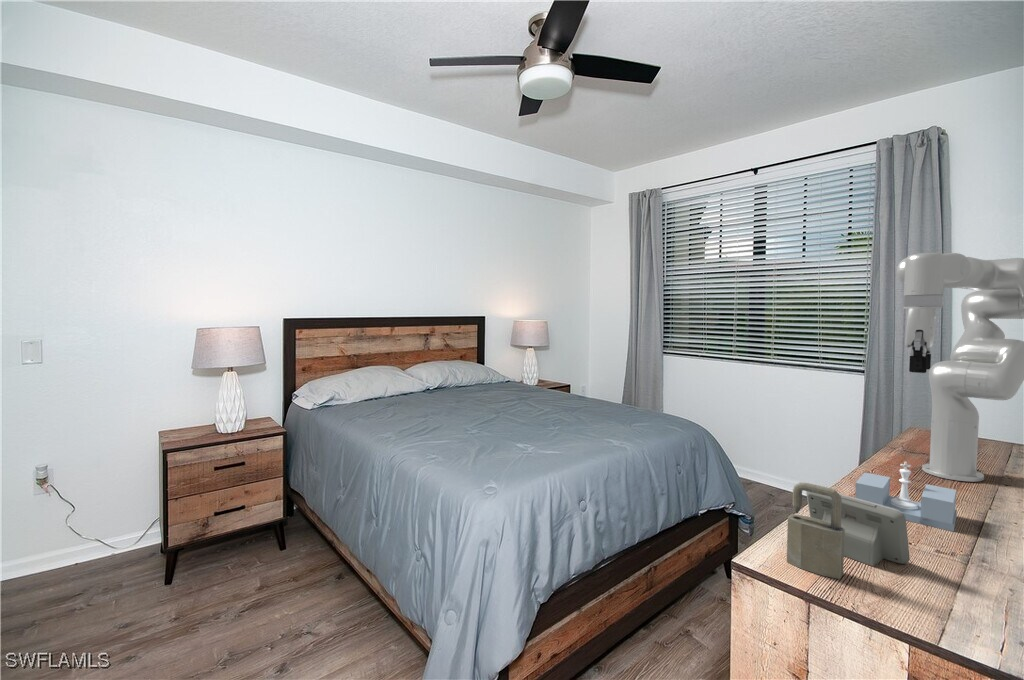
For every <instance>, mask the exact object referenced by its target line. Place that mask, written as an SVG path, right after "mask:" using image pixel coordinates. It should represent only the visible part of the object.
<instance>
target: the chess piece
mask: <svg viewBox="0 0 1024 680" xmlns="http://www.w3.org/2000/svg"><path fill="white" fill-rule="evenodd" d="M903 463H904V464H903ZM903 463H900V467H902V468H900V469H899V473H900V475H901V478H900V479H899V480H898V482H900V483H901V487H900V492H899V495H898V496H897V498H893V499H891V502H890V503H891V504H892V505H893V506H896V507H899V508H903V509H908V510H916V509H918V504H917V503H915V502H913V501H914V500H912V499H911V498H910V494H909V487H908V486H909V484H911V483H912V481H911V480H910V479H909V478H910V475H912V474H911V473H912V471H911V470H910V469H908V468H911V467H912V465H911V464H908V462H907V461H904V462H903Z"/></svg>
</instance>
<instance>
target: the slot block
mask: <svg viewBox="0 0 1024 680" xmlns="http://www.w3.org/2000/svg"><path fill="white" fill-rule="evenodd" d="M890 486H891V477H889V476H885V475H880V474H876V473H869V472H863V473H862V475H861V476H860V477H859V478H858V480H856V482H855V492H854V493H855V497H854V498H858V499H861V500H865V501H869V502H872V503H876V504H880V505H883V506H887V507H890V508H894V509H897V510H899V511H901V512H902V513H903V514H904V515H905V518H906V522H911V523H917V524H920V525H923V526H928V527H933V528H937V529H942V530H944V531H950V532H953V533H954V531H955V526H956V522H957V516H958V514H957V513H958V511H957V509H956V503H957V502H956V501H957V489H953V488H947V487H943V486H937V485H934V484H933V485H932V484H928V483H926V484H925V486H924V489H923V491H922V494H921V497H920V499H921V500H920V502H919V501H916V500H912V501H913V502H915V503H917V504H918V509H916V510H908V509H903V508H899V507H896V506H893V505H892V504H891V503H890V502H891V499H893V498H898V496H897V497H896V496H891V495H890V491H891V490H890V489H891V487H890Z"/></svg>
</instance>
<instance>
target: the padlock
mask: <svg viewBox="0 0 1024 680" xmlns="http://www.w3.org/2000/svg"><path fill="white" fill-rule="evenodd" d="M803 491H805V492H806V491H808V492H813V493H817V494H821V495H826V496H830V497H831V498H832V511H831V523H830V522H827V521H823V520H819V519H816V518H812V517H810V516H807V515H803V514H802V515H800V514H799V512H800V510H801V508H802V505H803V499H802V498H803ZM838 493H839V492H838V491H836V490H835V489H833V488H831V487H827V486H824V485H817V484H813V483H809V482H801V481H800V482H798V483H795V484H794V486H793V488H792V507H793V510H794V513H790V515H789V516H788V517H787V530H786V531H787V533H786V536H787V540H786V562H787V563H789V564H791V565H793V566H795V567H797V568H799V569H802V570H805V571H808V572H810V573H814V574H816V575H819V576H822V577H828V578H832V579H838V580H841V579H842V576H843V575H844V560H845V559H844V558H845V556H844V535H845V528H844V527H841V511H842V500H841V495H840V494H841V493H839V494H838Z"/></svg>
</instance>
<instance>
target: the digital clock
mask: <svg viewBox="0 0 1024 680" xmlns="http://www.w3.org/2000/svg"><path fill="white" fill-rule="evenodd" d="M805 493H806V494H805V495H806V501H807V505H808V506H807V507H808V512H809V513H808V514H809V517H812V518H816V519H819V520H823V521H827V522H830V523H831V511H832V498H831V497H830V496H826V495H821V494H817V493H813V492H808V491H805ZM837 493H838V494H840V495H841V500H842V511H841V527H844V528H845V535H844V558H848V559H850V560H851V559H852V560H853V561H857V562H859V563H861V564H864V565H868V566H870V567H875V566H876V565H877V564H879V563H880V562H881V561H882V560H883V559H885V560H887V561H891V562H893V563H897V564H907V563H909V562H910V559H911V558H910V557H911V555H910V547H909V538H908V528H907V527H908V526H907V520H906V518H905V515H904V514H903V513H902V512H901V511H899V510H897V509H894V508H890V507H887V506H883V505H880V504H876V503H872V502H869V501H865V500H861V499H858V498H855V497H853V496H850V495H846V494H843V493H839V492H837Z"/></svg>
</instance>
